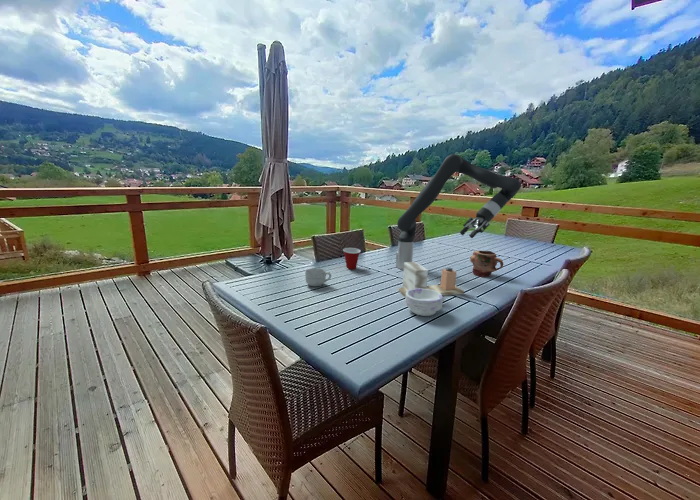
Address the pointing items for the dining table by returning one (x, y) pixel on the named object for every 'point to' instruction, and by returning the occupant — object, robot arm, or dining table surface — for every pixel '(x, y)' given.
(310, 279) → the teacup
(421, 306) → the white bowl
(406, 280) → the press housing
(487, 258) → the brown ceramic mug
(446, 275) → the tan small carton
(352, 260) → the plastic cup
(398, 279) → the dining table surface
